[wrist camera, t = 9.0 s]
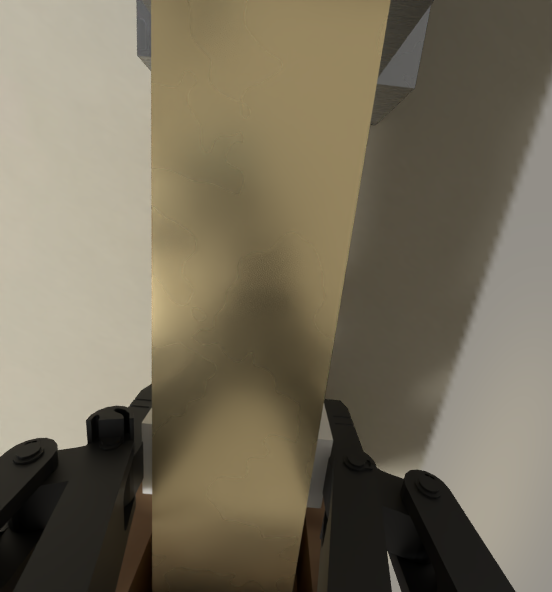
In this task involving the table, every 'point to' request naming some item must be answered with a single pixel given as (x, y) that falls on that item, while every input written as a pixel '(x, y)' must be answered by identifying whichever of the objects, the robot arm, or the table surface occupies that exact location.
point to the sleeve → (394, 60)
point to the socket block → (138, 552)
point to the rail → (248, 270)
